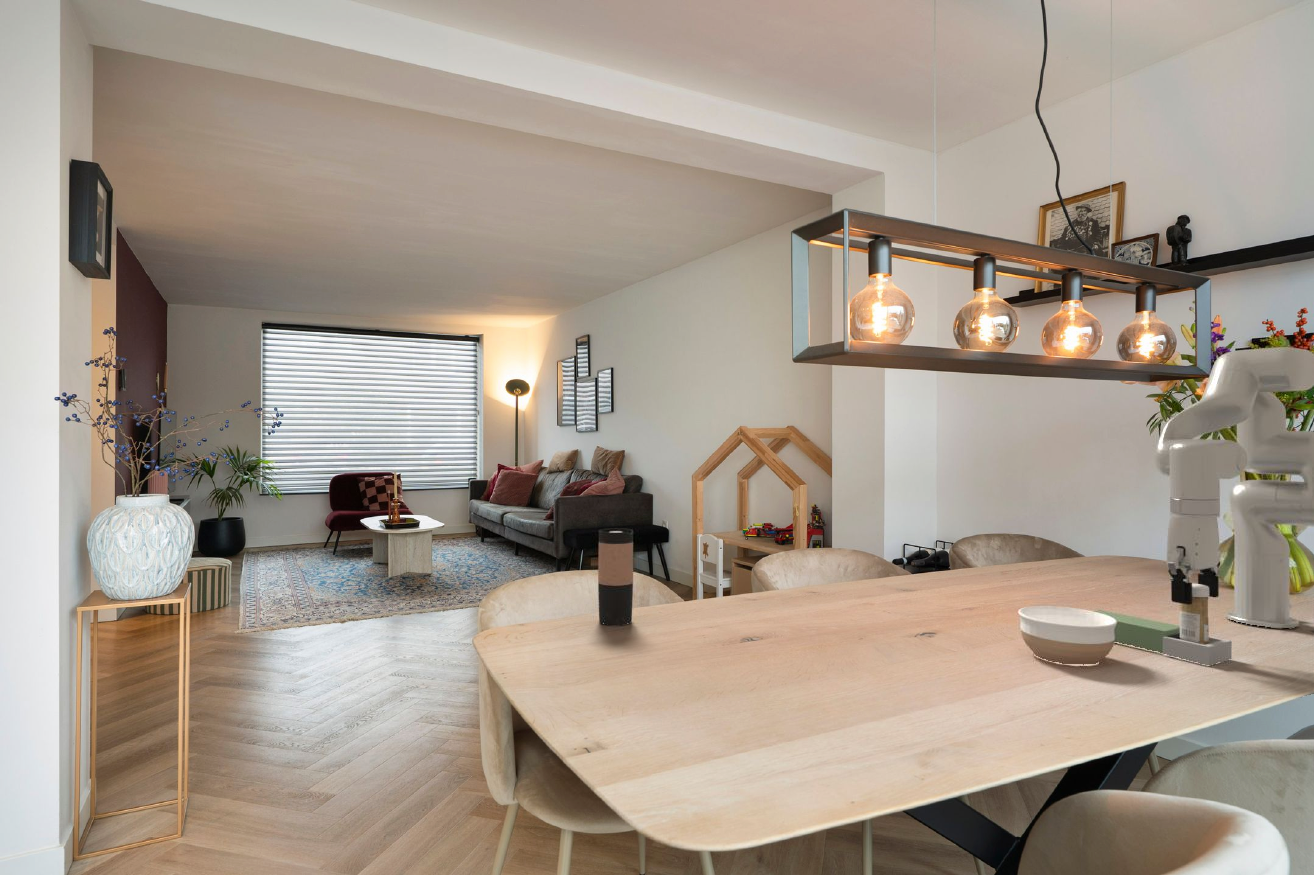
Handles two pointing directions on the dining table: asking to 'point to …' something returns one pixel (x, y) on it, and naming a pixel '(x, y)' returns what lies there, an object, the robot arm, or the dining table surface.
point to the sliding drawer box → (1167, 640)
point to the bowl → (1067, 634)
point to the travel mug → (615, 576)
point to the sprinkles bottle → (1195, 616)
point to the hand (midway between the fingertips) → (1195, 599)
